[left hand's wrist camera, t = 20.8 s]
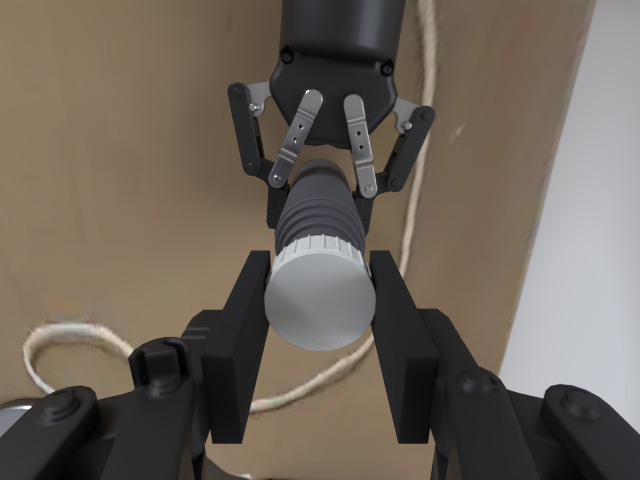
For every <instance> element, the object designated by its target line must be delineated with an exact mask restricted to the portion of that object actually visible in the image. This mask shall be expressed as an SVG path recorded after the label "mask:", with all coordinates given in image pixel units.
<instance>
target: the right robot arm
mask: <svg viewBox="0 0 640 480" xmlns="http://www.w3.org/2000/svg"><path fill="white" fill-rule="evenodd" d="M405 3H406V0H283V1H282V17H281V32H280V47H279V59H278V63H277V66H276V69H275V71H274V72H273V74H272V75H271V77H270V81H266V82H260V83H253V84H246V85H245V84H242V83H238V82H234V83H232V84H231V85H230V86H229V87H228V97H229V102H230V107H231V112H232V117H233V121H234V126H235V131H236V136H237V141H238V146H239V151H240V155H241V160H242V165H243V169H244V171H245V173H246V174H248V175H250V176H256V177H258V178H260V179H262V180H264V181H265V182H266V184H267V185H268V189H269V191H268V207H267V224H268V227H269V228H272V229H275V232H276V228H277V225H278V222H279V220H280V217H281V214H282V211H283V208H284V206H285V203H286V200H287V197H288V195H289V191H290V184H287V182H288V176H289V173H290V171H291V169H292V167H293V165H294V163H295V161H296V158H297V156H298V154H299V152H300V150H301V148H302V145H303V143H305V145H313V146H318V145H325V144H329V145H332V146H334V147H336V148H339V149H347V150H350V154H351V159H352V163H353V167H354V172H355V177H356V182H357V186H356V191H353V192H352V197H353V200H354V203H355V205H356V208H357V211H358V214H359V216H360V219H361V222H362V225H363V228H364V232H365V237H366V235H367V234H368V230H369V224H370V218H371V212H372V206H373V201H374V199H375V197H376V196H377V195H379V194H381V193H385V192H389V191H392V192H398V191H400V190H401V189H402V188H403V186H404V184H405V182H406V180H407V178H408V175H409V173H410V171H411V169H412V167H413V164H414V162H415V160H416V158H417V156H418V153H419V151H420V149H421V147H422V145H423V142H424V140H425V138H426V136H427V134H428V132H429V129H430V127H431V125H432V123H433V121H434V118H435V111H434V109H433V108H432V107H430V106H419V105H416V104H414V103H412V102H409V101H407V100H404V99H402V98H399V97H398V93H397V89H396V86H395V82H394V69H395V63H396V57H397V51H398V45H399V39H400V33H401V27H402V21H403V15H404V9H405ZM270 97H273V99H274V101H275V103H276V104H277V106H278V108H279V110H280V112H281V113H282V115H283V117H284V119H285V120H286V122H287V124H288V126H289V127H290V129H289V131H288V133H287V135H286V138H285V140H284V142H283V144H282V147H281V149H280V152H279V154H278V157H277V159H276V161H275V163H274V162H272V161H270V160H268V159H266V158H265V156H264V151H263V145H262V140H261V134H260V129H259V123H258V118H257V117H258V116H261V115H263V113H264V112H265V104H266V101H267V99H268V98H270ZM391 111H392V112H393V113H394V115H395V124H394V127H395V130H396V131H397V132H398V133H400V134H399V136H398V139H397V141H396V143H395V145H394V148H393V150H392V152H391V155H390V157H389V159H388V162H387V164H386V166H385V169H384V171H383V172H380V173H376V174H375V173H374V167H373V157H372V152H371V147H370V141H369V135H370V134H371V133H372V132H373V131H374V130H375V129H376V128H377V126H378V125H379V124H380V123H381V122H382V121H383V120H384V119H385V118H386V117H387V116H388V115H389V113H390V112H391Z"/></svg>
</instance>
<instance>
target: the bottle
mask: <svg viewBox="0 0 640 480" xmlns="http://www.w3.org/2000/svg"><path fill="white" fill-rule="evenodd" d="M322 234H324V236H331V237H335V238H336V237H338V239H341V240H343V241H345V242H347V243H349V242H350V243H351V245H352V246H353V247H354V248H355V249H357V250H358V251H359V250H360V252H361V255H362V256H364V252H365V232H364V228H363V225H362V222H361V219H360V216H359V214H358V211H357V208H356V205H355V203H354V200H353V197H352V194H351V192H350V189H349V186H348V183H347V181H346V178H345V175H344V173H343V171H342V170H341V169H340V168H339V167H338V166H337V165H336V164H335V163H333V162H331V161H328V160H324V159H316V160H312V161H309V162H307V163H306V164H304V165H303V166H302V167H301V168H300V169H299V170H298V172H297V173H296V175H295V178H294V181H293V184H292V186H291V189H290V192H289V195H288V197H287V200H286V203H285V206H284V208H283V211H282V214H281V217H280V220H279V222H278V225H277V228H276V232H275V252H276V256H277V257H278V255H279V254H280V253H281V252H282V251H283V248H284V247H287V246H288V245H290V244H291V243H293V242H295V240H296V239H297V240H299V239H302V238H305V237H308V235H310V236H316V235H322Z"/></svg>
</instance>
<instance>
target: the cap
mask: <svg viewBox="0 0 640 480" xmlns="http://www.w3.org/2000/svg"><path fill="white" fill-rule="evenodd" d="M371 277H372V274H371V271H370V268H369V265H368V262H367V261H365V260H364V258H363V256H362V255H361V252H360V250H359V251H358V250H357V249H355V248H354V247H353V246H352V245H351V243H350V242H349V243H347V242H345V241H343V240H341V239H338V237H336V238H335V237H331V236H324V234H322V235H316V236H310V235H308V237H305V238H302V239H299V240H297V239H296V240H295V242H293V243H291V244H290V245H288V246H287V247H284V248H283V251H282V252H281V253H280V254H279V255H278V257H277V256H276V257H275V260H274V263H273V266H272V268H271V267H270V270H269V274H268V277H267V280H266V284H267V286H266V289H265V293H264V299H265V314H266V316H267V319H268V321H269V323H270V325H271V326H272V328H273V329H274V331H275V332H276V333H277V334H278V335H279V336H280V337H282V338H283V339H284V340H285V341H287V342H289V343H290V344H292V345H294V346H297V347H299V348H302V349H306V350H312V351H328V350H334V349H338V348H341V347H344V346H346V345H348V344H350V343H352V342H353V341H355V340H356V339H357V338H359V337H360V336H361V335H362V334H363V333H364V332H365V331H366V330H367V328H368V327H369V325H370V323H371V322H372V320H373V317H374V314H375V304H376V292H375V288H374V285H373V281H372V278H371Z"/></svg>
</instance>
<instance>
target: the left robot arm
mask: <svg viewBox="0 0 640 480" xmlns="http://www.w3.org/2000/svg"><path fill="white" fill-rule="evenodd" d="M270 267H271V261H270V251H251V252H250V254H249V256H248V258H247V260H246V262H245V264H244V267H243V269H242V271H241V273H240V275H239V277H238V279H237V281H236V283H235V285H234V287H233V289H232V292H231V294H230V296H229V298H228V300H227V302H226V304H225V306H224V308H223V310H203V311H201V312H200V313H199V314H197V315H196V316H195V317H193V318H192V319H191V321H190V322H189V324H188V326H187V327H186V331H184V332H183V334H182V336H181V338H178V337H163V338H159V339H154V340H151V341H149V342H147V343H144V344H142V345H141V346H140V347H138V348H137V349H135V350H134V351H133V352H132V354H131V355H130V356H129V358H128V360H129V364H130V369H131V373H132V378H133V382H134V387H135V388H134V391H131V392H128V393H125V394H121V395H117V396H113V397H108V398H104V399H100V400H97V397H96V394H95V392H94V391H93V390H92V389H91V388H90V387H85V386H72V387H67V388H64V389H61V390H58V391H55V392H53V393H51V394H49V395H47V396H45V397H43V398H42V399H20V400H15V401H11V402H8V403H5V404H3V405H1V406H0V480H205V471H206V461H207V459H206V451H205V443H206V440H207V437H208V434H209V431H210V430H211V437H212V444H242V441H243V436H244V432H245V428H246V423H247V419H248V415H249V410H250V406H251V402H252V398H253V393H254V389H255V385H256V380H257V376H258V372H259V367H260V363H261V359H262V355H263V350H264V346H265V342H266V337H267V333H268V329H269V324H270V323H269V321H268V319H267V316H266V314H265V299H264V293H265V289H266V286H267V284H266V280H267V277H268V274H269V270H270ZM369 268H370V271H371V274H372V277H371V278H372V281H373V285H374V288H375V292H376V304H375V314H374V317H373V320H372V322H371V328H372V332H373V336H374V341H375V345H376V349H377V354H378V358H379V362H380V366H381V371H382V375H383V379H384V384H385V388H386V392H387V397H388V401H389V405H390V409H391V414H392V418H393V422H394V427H395V431H396V435H397V440H398V444H428V438H429V431H430V429H431V431H432V434H433V437H434V440H435V443H436V445H435V451H434V458H433V464H432V471H431V478H430V480H640V434H639V433H638V432H637V431H636V430H634V429H633V428H632V427H631V426H630V425H629V424H628V423H627V422H626V421H625V420H624V419H623V418H622V417H621V416H620V415H619V414H618V413H617V412H616V411H615V410H614V409H613V408H612V407H611V406H610V405H609V404H608V403H606V402H605V401H604V400H602V399H601V398H600V397H598V396H596V395H595V394H593V393H591V392H589V391H587V390H585V389H582V388H578V387H575V386H572V385H563V384H558V385H553V386H550V387H549V388H548V389H547V390H546V391H545V395H544V398H538V397H534V396H529V395H525V394H521V393H517V392H514V391H510V390H508V389H506V387H505V386H504V384H503V383H502V381H501V380H500V379H499V378H498V377H497V376H496V375H494V374H493V373H492V372H490V371H488V370H486V369H484V368H482V367H479V366H478V365H477V363H476V361H475V360H474V358H473V357H472V355H471V353H470V352H469V350H468V348H467V347H466V345H465V343H464V342H463V340H462V339H461V338H460V335H459V334H458V332H457V330H456V329H455V327H454V325H453V324H452V322H451V321H450V319H449V317H447V316H446V315H445V314H443V313H442V312H441V311H439V310H438V309H417V308H416V306H415V303H414V301H413V299H412V297H411V295H410V293H409V291H408V289H407V287H406V285H405V283H404V281H403V279H402V276H401V274H400V272H399V270H398V268H397V266H396V264H395V262H394V260H393V258H392V256H391V254H390V252H389V251H370V266H369Z"/></svg>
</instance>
